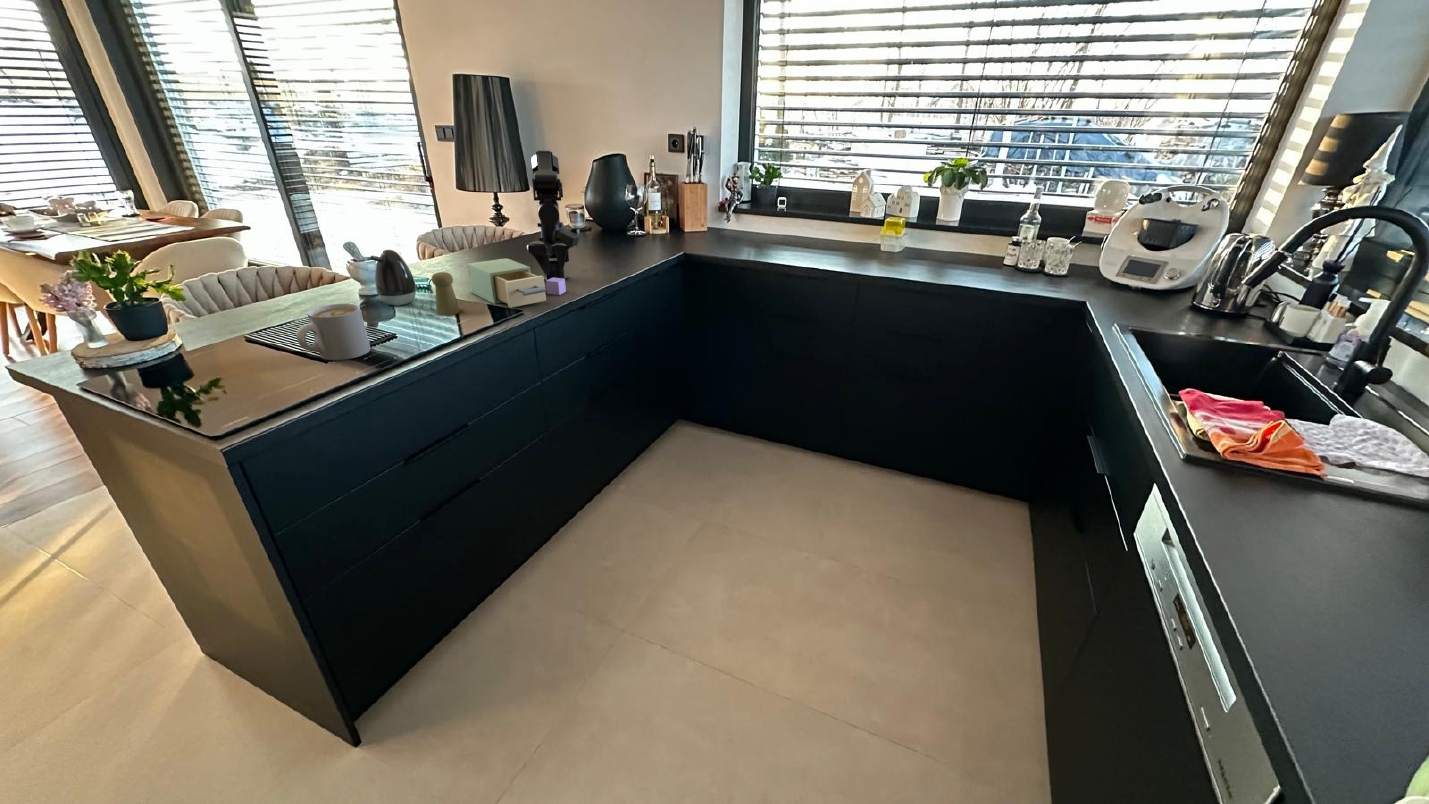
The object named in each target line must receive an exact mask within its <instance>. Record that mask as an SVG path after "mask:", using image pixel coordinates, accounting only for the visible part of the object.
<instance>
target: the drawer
mask: <svg viewBox="0 0 1429 804" xmlns="http://www.w3.org/2000/svg"><path fill="white" fill-rule="evenodd" d="M544 278H545V276H544V275H537V274H534V273H532V272H531V273H529V272H527V271H519V272H512V273H506V274H500V275H494V276H493V281H494V288H495V294H496V298H497V299H499V300H501V301H503V302H502V303H505V304H507V307H508V308H509V309H511V308H512V309H513V308H516V307H520V306H527V305H531V304H536V303H541V302H546V301H547V295H546V284H545V281H544Z"/></svg>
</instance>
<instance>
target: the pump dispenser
mask: <svg viewBox="0 0 1429 804" xmlns="http://www.w3.org/2000/svg"><path fill="white" fill-rule="evenodd" d="M369 258H370V259H369V260H372V261H375V262H376V263H375V270H374V283H375V284H374V285H375V286H374V287H375V291H376V294H377V295H378V296H379V297H380V300H382V301H383V302H384V303H385V304H387V305H390V306H404V305H407V304H410V303H412V302H413V301H414V299H415V297H416V293H417V290H418V289H417V284H416V280H415V279H414V276H413V273H412V271H411V270H410V268H409V266H408V263H406V261H405V260H404V259H403V257H402V256H401V255H400V254H399V253H398V252H397V251H395V250H393V249H385V250H382V251H381V252H380V253H379V254H378V256H376V255H370V256H369Z"/></svg>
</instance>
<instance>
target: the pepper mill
mask: <svg viewBox="0 0 1429 804" xmlns="http://www.w3.org/2000/svg"><path fill="white" fill-rule="evenodd" d="M431 282H432V284H433V285H434V289H435V306H436V307H435V309H436V310H435V311H436V314H437V315H439V316H454V315H457V314H459V313H461V309H460V306H459V303H458V300H457V297H456V294H455V291H454V287H453V285H452V284H453V282H454V279H453V276H452V273H450V272H446V271H440V272H435V273H433V274H432V275H431Z"/></svg>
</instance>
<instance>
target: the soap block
mask: <svg viewBox="0 0 1429 804" xmlns="http://www.w3.org/2000/svg"><path fill="white" fill-rule="evenodd" d="M545 283H546V284H545V286H546V293H547V295H555V296H562V294H564V293H566V292H567V287H566V280H565V279H562V278H551V279H549V280H546V281H545Z"/></svg>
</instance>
